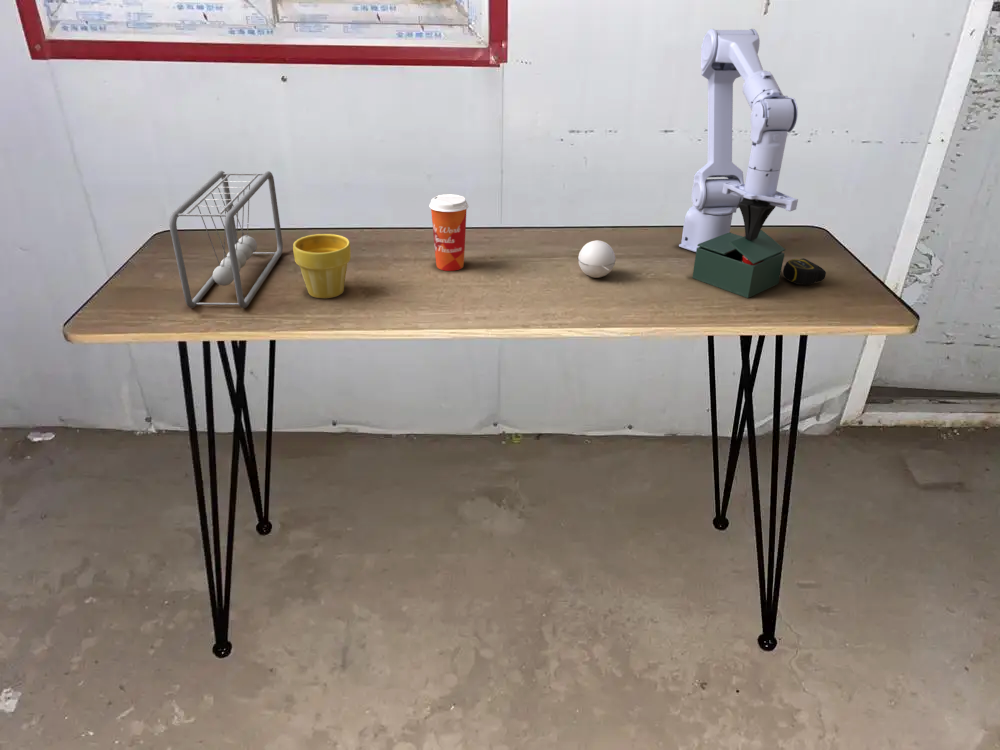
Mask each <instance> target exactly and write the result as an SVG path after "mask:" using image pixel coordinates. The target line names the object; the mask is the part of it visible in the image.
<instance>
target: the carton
mask: <svg viewBox="0 0 1000 750" xmlns="http://www.w3.org/2000/svg"><path fill="white" fill-rule="evenodd" d="M742 237H744V236H743V235H739V234H736V233H732V232H731V231H730V232H729V233H726V234H724V235H721V236H718V237H716V238H713V239H710V240H708V241H705V242H702V243H700V244H698V246H700V247H698V248H697V250H696V252H695V258H694V264H693V269H692V277H691V278H692V279H694V280H696V281H699V282H702V283H705V284H708V285H710V286H713V287H716V288H718V289H721V290H724V291H726V292H729V293H732V294H735V295H738V296H740V297H744V298H747V299H749V298H752V297H754V296H756V295H758V294H759V293H761V292H764V291H767V290H768V289H770V288H773V287H775V286H776V285H779V282H780V278H781V273H782V270H783V264H784V259H785V252H781V253H778V254H776V255H774V256H771V257H769V258H767V259H765V260H764V261H763V262H760V263H758V264H756V265H754V266H752V265H749V264H746V263H743V262H742V257H743V255H742V254H741V253H740V252H739V251H738V250H737V249H735V248H734V247H733V246H732V245H731V244H730V242H731V241H734V240H737V239H739V238H742Z"/></svg>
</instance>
